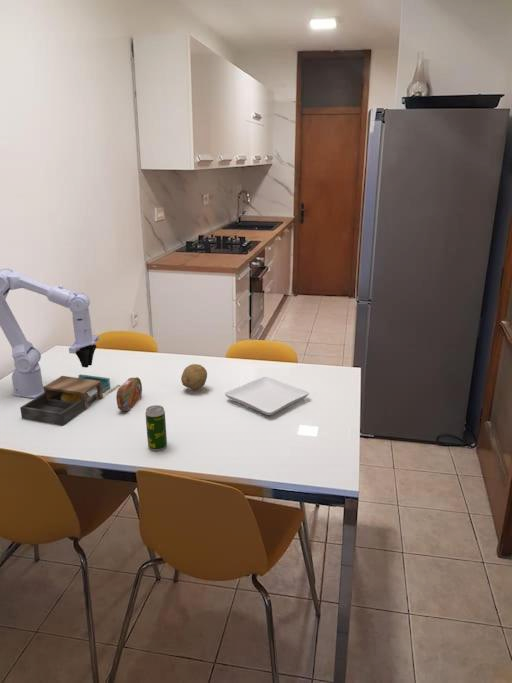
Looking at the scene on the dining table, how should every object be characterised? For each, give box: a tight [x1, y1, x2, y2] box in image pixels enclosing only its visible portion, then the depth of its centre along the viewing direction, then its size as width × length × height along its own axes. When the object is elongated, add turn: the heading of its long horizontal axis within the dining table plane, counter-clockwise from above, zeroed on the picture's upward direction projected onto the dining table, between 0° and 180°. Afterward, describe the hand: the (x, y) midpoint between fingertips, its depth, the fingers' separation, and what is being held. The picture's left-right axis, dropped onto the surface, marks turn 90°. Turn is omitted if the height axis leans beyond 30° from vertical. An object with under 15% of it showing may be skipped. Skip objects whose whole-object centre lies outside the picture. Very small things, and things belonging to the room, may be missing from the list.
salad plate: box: [224, 376, 310, 416], centre depth 181 cm, size 21×21×3 cm
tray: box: [19, 375, 121, 426], centre depth 181 cm, size 16×32×6 cm, turn 162°
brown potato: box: [180, 363, 208, 392], centre depth 188 cm, size 9×9×10 cm
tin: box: [115, 376, 143, 412], centre depth 178 cm, size 15×3×8 cm, turn 168°
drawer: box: [47, 374, 111, 408], centre depth 184 cm, size 12×19×4 cm, turn 162°
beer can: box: [144, 404, 168, 452], centre depth 151 cm, size 5×5×12 cm
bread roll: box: [60, 392, 89, 403], centre depth 182 cm, size 8×9×4 cm
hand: (87, 366), depth 187 cm, fingers closed
